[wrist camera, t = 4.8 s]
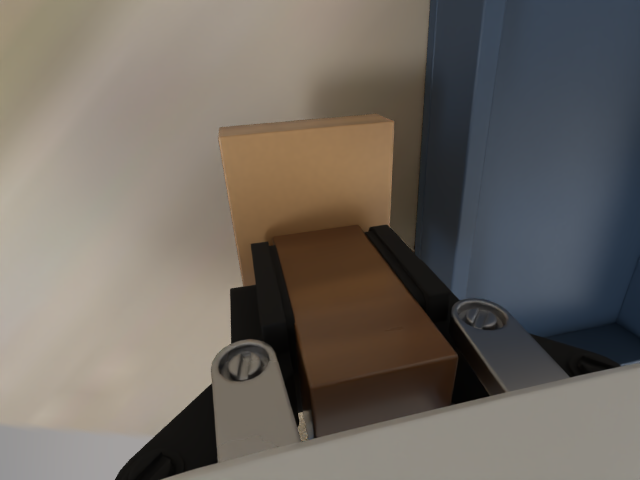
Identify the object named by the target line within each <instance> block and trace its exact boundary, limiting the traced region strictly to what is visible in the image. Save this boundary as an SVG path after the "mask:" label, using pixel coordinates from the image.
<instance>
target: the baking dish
mask: <svg viewBox="0 0 640 480" xmlns="http://www.w3.org/2000/svg"><path fill="white" fill-rule="evenodd" d="M415 255H416V256H417V257H418V258H419V259H421V260H422V261H423V262H424V263H425V264H426V265H427V266H428V267H429V268H430V269H431V270H432V271H433V272H434V273H435V274H436V275H437V277H438V278H439V279H440V280H441V281H442V282H443V283H444V284H445V285H446V286H447V287H448V288H449V289H450V290H451V291H452V293H453V294H454V295H455V296H456V297H457V298H458V299H459V300H463V299H467V298H478V299H485V300H488V301H491V302H494V303H496V304H498V305H500V306H502V307H503V308H505V309H506V310H507V311H508V312H509V313H510V314H511V315H512V316H513V317H514V318H515V319H516V320H517V321H518V322H519V323H520V325H521V326H522V327H523V328H524V329H525V330H526V331H527V332H528V333H530V334H534V335H537V336H540V337H544V338H547V339H550V340H554V341H557V342H560V343H564V344H567V345H571V346H574V347H577V348H581V349H584V350H587V351H591V352H594V353H597V354H600V355H602V356H605V357H608V358H609V359H611V360H613V361H615V362H616V363H618V364H619V365H621V366H624V365H625V364H627V365H631V364H636V363H640V0H430V16H429V31H428V47H427V63H426V79H425V95H424V111H423V127H422V143H421V159H420V175H419V191H418V207H417V223H416V239H415Z"/></svg>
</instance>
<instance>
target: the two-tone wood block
mask: <svg viewBox="0 0 640 480" xmlns="http://www.w3.org/2000/svg"><path fill="white" fill-rule="evenodd" d="M218 140H219V146H220V152H221V158H222V163H223V169H224V175H225V181H226V187H227V193H228V199H229V205H230V211H231V217H232V223H233V229H234V235H235V240H236V246H237V252H238V258H239V264H240V270H241V276H242V282H243V287H244V286H250V285H256V282H255V275H254V267H253V259H252V252H251V244H253V243H260V242H267V241H268V243H269V246H271V245H276V248H277V252H278V256H279V260H280V264H281V268H282V272H283V275H284V279H285V283H286V287H287V291H288V295H289V299H290V303H291V306H292V310H293V314H294V319H295V323H294V330H295V340H296V350H297V360H298V370H299V380H300V390H301V400H302V412H303V416H304V421H305V426H306V431H307V435H308V440H310V439H314V438H318V437H322V436H327V435H331V434H335V433H339V432H343V431H347V430H351V429H355V428H359V427H363V426H367V425H372V424H376V423H380V422H384V421H388V420H392V419H396V418H401V417H405V416H409V415H413V414H417V413H422V412H426V411H430V410H434V409H438V408H442V407H447V406H451V400H452V394H453V388H454V382H455V376H456V370H457V364H458V355H457V353H456V352H455V350H454V349H453V348H452V347H451V345H450V344H449V343H448V341H447V340H446V339H445V337H444V336H443V335H442V333H441V332H440V331H439V330H438V328H437V327H436V326H435V324H434V323H433V322H432V320H431V319H430V318H429V316H428V315H427V314H426V313H425V311H424V310H423V309H422V307H421V306H420V305H419V303H418V302H417V301H416V300H415V299H414V297H413V296H412V295H411V294H410V292H409V291H408V290H407V288H406V287H405V286H404V284H403V283H402V282H401V280H400V279H399V278H398V276H397V275H396V274H395V272H394V271H393V270H392V269H391V267H390V266H389V265H388V263H387V262H386V261H385V259H384V258H383V257H382V255H381V254H380V253H379V251H378V250H377V249H376V247H375V246H374V245H373V244H372V242H371V241H370V240H369V238H368V237H367V236H366V234H365V233H364V232H368V230H369V228H370V227H373V226H380V225H388V226H389V227H390V213H391V189H392V166H393V143H394V121H392V120H390V119H388V118H385V117H383V116H380V115H378V114H366V115H355V116H344V117H332V118H321V119H309V120H298V121H286V122H275V123H263V124H252V125H240V126H229V127H220V128H219V137H218Z"/></svg>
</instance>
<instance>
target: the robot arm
mask: <svg viewBox="0 0 640 480" xmlns="http://www.w3.org/2000/svg"><path fill="white" fill-rule="evenodd" d="M364 233H365V234H366V236H367V237H368V238H369V240H370V241H371V242H372V244H373V245H374V246H375V247H376V249H377V250H378V251H379V253H380V254H381V255H382V257H383V258H384V259H385V261H386V262H387V263H388V265H389V266H390V267H391V269H392V270H393V271H394V272H395V274H396V275H397V276H398V278H399V279H400V280H401V282H402V283H403V284H404V286H405V287H406V288H407V290H408V291H409V292H410V294H411V295H412V296H413V297H414V299H415V300H416V301H417V302H418V303H419V305H420V306H421V307H422V309H423V310H424V311H425V313H426V314H427V315H428V316H429V318H430V319H431V320H432V322H433V323H434V324H435V326H436V327H437V328H438V330H439V331H440V332H441V333H442V335H443V336H444V337H445V339H446V340H447V341H448V343H449V344H450V345H451V347H452V348H453V349H454V350H455V352H456V353H457V355H458V364H457V370H456V376H455V382H454V388H453V394H452V400H451V406H447V407H442V408H438V409H434V410H430V411H426V412H422V413H417V414H413V415H409V416H405V417H401V418H396V419H392V420H388V421H384V422H380V423H376V424H372V425H367V426H363V427H359V428H355V429H351V430H347V431H343V432H339V433H335V434H331V435H327V436H322V437H318V438H314V439H310V440H306V441H302V442H301V439H300V435H299V432H298V428H297V427H298V426H299V417H298V413H300V412H302V400H301V390H300V380H299V370H298V360H297V350H296V340H295V330H294V323H295V319H294V314H293V310H292V306H291V303H290V299H289V295H288V291H287V287H286V283H285V279H284V275H283V272H282V268H281V264H280V260H279V256H278V252H277V248H276V245H271V246H269V243H268V241H267V242H260V243H253V244H251V252H252V259H253V267H254V275H255V282H256V285H250V286H244V287H238V288H232V289H230V300H231V344H230V345H228V346H227V347H225V348H223V349H222V350H221V351H220V352H219V353H218V354H217V355H216V357H215V358H214V360H213V362H212V367H211V375H212V384H211V385H210V386H209V387H208V388H206V389H205V390H204V391H203V392H202V393H201V394H200V395H199V396H198V397H197V398H196V399H195V400H194V401H192V402H191V403H190V404H189V405H188V406H187V407H186V408H185V409H184V410H183V411H182V412H181V413H180V414H178V415H177V416H176V417H175V418H174V419H173V420H172V421H171V422H170V423H169V424H168V425H167V426H165V427H164V428H163V429H162V430H161V431H160V432H159V433H158V434H157V435H156V436H155V437H154V438H153V439H151V440H150V441H149V442H148V443H147V444H146V445H145V446H144V447H143V448H142V449H141V450H140V451H139V452H137V453H136V454H135V455H134V456H133V457H132V458H131V459H130V460H129V461H128V463H126V465H125V466H124V467H123V468H122V469H121V470H120V472H119V474H118V475H117V477H116V479H115V480H640V363H636V364H631V365H627V364H625V365H624V366H621V365H619V364H618V363H616V362H615V361H613V360H611V359H609V358H608V357H605V356H602V355H600V354H597V353H594V352H591V351H587V350H584V349H581V348H577V347H574V346H571V345H567V344H564V343H560V342H557V341H554V340H550V339H547V338H544V337H540V336H537V335H534V334H530V333H528V332H527V331H526V330H525V329H524V328H523V327H522V326H521V325H520V323H519V322H518V321H517V320H516V319H515V318H514V317H513V316H512V315H511V314H510V313H509V312H508V311H507V310H506V309H505V308H503V307H502V306H500V305H498V304H496V303H494V302H491V301H488V300H485V299H478V298H467V299H463V300H459V299H458V298H457V297H456V296H455V295H454V294H453V293H452V291H451V290H450V289H449V288H448V287H447V286H446V285H445V284H444V283H443V282H442V281H441V280H440V279H439V278H438V277H437V275H436V274H435V273H434V272H433V271H432V270H431V269H430V268H429V267H428V266H427V265H426V264H425V263H424V262H423V261H422V260H421V259H419V258H418V257H417V256H416V255H415V254H414V252H413V251H412V250H411V249H410V248H409V247H408V246H407V245H406V244H405V243H404V242H403V241H402V240H401V238H400V237H399V236H398V235H397V234H396V233H395V232H394V231H393V230H392V229H391V228H390V227H389V226H388V225H380V226H373V227H370V228H369V230H368V232H364Z"/></svg>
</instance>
